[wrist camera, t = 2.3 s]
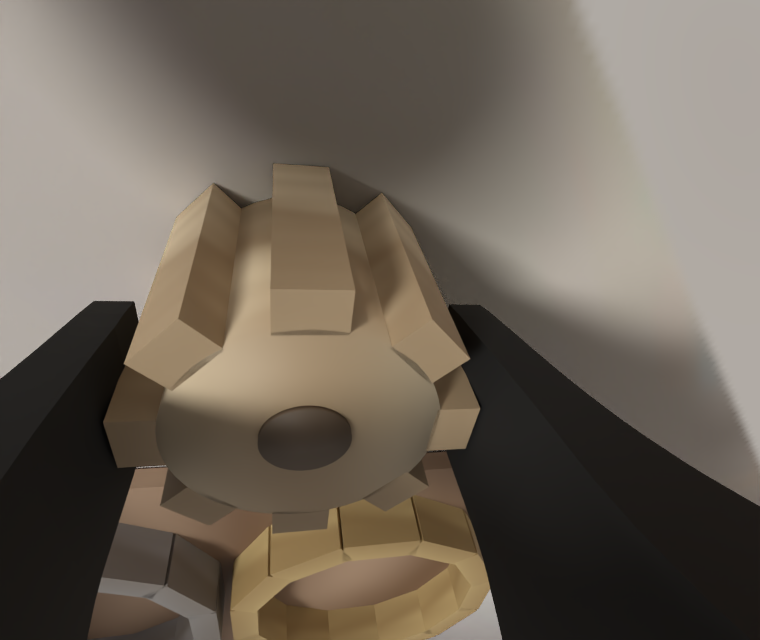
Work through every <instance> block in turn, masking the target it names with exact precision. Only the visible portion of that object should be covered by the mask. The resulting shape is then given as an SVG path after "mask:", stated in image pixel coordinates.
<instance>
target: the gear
mask: <svg viewBox="0 0 760 640" xmlns="http://www.w3.org/2000/svg"><path fill="white" fill-rule="evenodd" d="M469 359H470V357H469V355H468V353H467V350H466V348H465V346H464V344H463V341H462V339H461V337H460V335H459V333H458V330H457V328H456V326H455V324H454V321H453V319H452V317H451V315H450V313H449V310H448V308H447V306H446V304H445V302H444V299H443V297H442V295H441V293H440V290H439V288H438V286H437V284H436V282H435V279H434V277H433V275H432V273H431V270H430V268H429V266H428V264H427V262H426V259H425V257H424V255H423V253H422V251H421V248H420V246H419V244H418V242H417V239H416V237H415V235H414V233H413V231H412V228H411V227H410V226H409V224H408V223H407V222H406V221H405V220H404V218H403V217H402V216H401V215H400V214H399V213H398V211H397V210H396V209H395V208H394V207H393V205H392V204H391V203H390V202H389V201H388V200H387V198H386V197H385V196H384V195H383V194H382V193H381V194H380V195H379V196H377V197H376V198H375V199H374V200H372V201H371V202H370V203H369V204H367V205H366V206H365V207H364V208H362V209H361V210H360V211H359V212H358V213H356V214H355V213H353V212H351V211H350V210H348V209H346V208H344V207H342V206H340V205H337V202H336V198H335V193H334V189H333V184H332V179H331V175H330V170H329V167H319V166H304V165H289V164H274V163H273V194H272V198H271V199H267V200H263V201H259V202H256V203H253V204H251V205H248V206H246V207H243V208H242V209H241V208H240V207H239V206H238V205H237V204H236V203H235V202H234V201H233V200H231V199H230V198H229V197H228V196H227V195H226V194H225V193H224V192H223V191H222V190H220V189H219V188H218V187H217V186H216V185H215V184H214V183H213V184H212V185H211V186H210V187H209V188H208V189H207V190H206V191H204V192H203V193H202V194H201V195H200V196H199V197H198V198H197V199H196V200H195V201H194V202H193V203H191V204H190V205H189V206H188V207H187V208H186V209H185V210H184V211H183V212H182V213H181V214H180V215H178V216H177V217H176V220H175V223H174V226H173V228H172V231H171V234H170V237H169V240H168V242H167V245H166V248H165V251H164V253H163V256H162V259H161V262H160V265H159V267H158V270H157V273H156V276H155V278H154V281H153V284H152V287H151V290H150V292H149V295H148V298H147V301H146V304H145V306H144V309H143V312H142V315H141V317H140V320H139V323H138V326H137V329H136V331H135V334H134V337H133V340H132V342H131V345H130V348H129V351H128V354H127V356H126V359H125V362H124V364H125V368H124V370H123V372H122V374H121V376H120V378H119V380H118V382H117V385H116V388H115V391H114V393H113V396H112V399H111V402H110V405H109V407H108V410H107V413H106V416H105V418H104V421H103V424H104V427H105V430H106V433H107V436H108V439H109V443H110V446H111V449H112V452H113V455H114V458H115V461H116V464H117V467H118V468H124V467H142V466H160V465H166V466H167V467H168V470H167V474H166V479H165V484H164V489H163V494H162V499H161V503H160V506H161V507H164V508H166V509H169V510H171V511H174V512H176V513H179V514H181V515H184V516H186V517H189V518H191V519H194V520H196V521H199V522H201V523H204V524H206V525H209V526H210V525H212V524H213V523H215V522H216V521H218V520H219V519H221V518H223V517H224V516H226V515H227V514H229V513H230V512H232V511H234V510H235V509H240V510H246V511H251V512H258V513H268V514H272V534H275V533H286V532H298V531H310V530H321V529H327V526H328V517H329V509H333V508H337V507H341V506H345V505H348V504H351V503H354V502H357V501H360V500H362V499H364V500H366V501H367V502H369V503H371V504H373V505H374V506H376V507H378V508H380V509H382V510H383V511H385V512H386V511H387V510H389V509H391V508H393V507H394V506H396V505H398V504H400V503H401V502H403V501H405V500H407V499H409V498H410V497H412V496H414V495H416V494H417V493H419V492H421V491H423V490H424V489H426V488H428V487H429V485H428V481H427V478H426V474H425V470H424V467H423V463H422V458H423V457H424V456H425V454H426V453H427V452H428V451H432V450H450V449H466V446H467V443H468V441H469V438H470V435H471V433H472V430H473V427H474V424H475V422H476V419H477V416H478V414H479V411H480V406H479V404H478V402H477V399H476V397H475V395H474V392H473V390H472V387H471V385H470V383H469V380H468V378H467V376H466V374H465V372H464V370H463V368H462V367H461V365H462V364H463V363H465V362H466V361H468V360H469Z"/></svg>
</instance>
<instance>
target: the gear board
mask: <svg viewBox="0 0 760 640" xmlns="http://www.w3.org/2000/svg"><path fill="white" fill-rule="evenodd" d="M422 463H423V467H424V470H425V474H426V478H427V481H428V485H429V487H428V488H426V489H424V490H423V491H421V492H419V493H417V494H416V495H414V496H412V497H410V498H409V499H407V500H405V501H403V502H401V503H400V504H398V505H396V506H394V507H393V508H391V509H389V510H387V511H386V512H385V511H383V510H382V509H380V508H378V507H376V506H374V505H373V504H371V503H369V502H367V501H366V500H364V499H362V500H360V501H357V502H354V503H351V504H348V505H345V506H341V507H337V508H333V509H329V517H328V526H327V529H321V530H310V531H298V532H286V533H275V534H272V514H268V513H258V512H251V511H246V510H240V509H235V510H234V511H232V512H230V513H229V514H227V515H226V516H224V517H223V518H221V519H219V520H218V521H216V522H215V523H213V524H212V525H210V526H209V525H206V524H204V523H201V522H199V521H196V520H194V519H191V518H189V517H186V516H184V515H181V514H179V513H176V512H174V511H171V510H169V509H166V508H164V507H161V506H160V503H161V499H162V494H163V489H164V484H165V479H166V474H167V470H168V467H165V468H147V469H135V473H134V476H133V479H132V482H131V485H130V489H129V492H128V495H127V498H126V501H125V504H124V508H123V511H122V514H121V517H120V520H119V523H118V527H117V530H116V533H115V536H114V539H113V542H112V545H111V549H110V552H109V555H108V558H107V561H106V564H105V568H104V571H103V574H102V578H101V582H100V585H99V589H98V593H97V597H96V600H95V604H94V609H93V614H92V619H91V623H90V628H89V633H88V637H87V640H425V639H428V638H431V637H434V636H436V635H439V634H440V633H442V632H443V631H445V630H447V629H448V628H450V627H451V626H453V625H454V624H456V623H458V622H459V621H461V620H462V619H464V618H466V617H467V616H469V615H470V614H472V613H473V612H475V611H477V609H479V607H480V605H481V603H482V602H483V600H484V598H485V597H486V595H487V593H488V591H489V590H490V585H489V581H488V577H487V573H486V569H485V565H484V561H483V557H482V554H481V551H480V548H479V544H478V541H477V538H476V535H475V532H474V529H473V526H472V523H471V521H470V518H469V515H468V512H467V509H466V506H465V504H464V501H463V498H462V495H461V492H460V489H459V487H458V484H457V481H456V478H455V475H454V472H453V470H452V467H451V464H450V461H449V458H448V455H447V452H432V453H426V454H425V456H424V457H423V458H422Z"/></svg>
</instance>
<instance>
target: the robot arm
mask: <svg viewBox="0 0 760 640" xmlns="http://www.w3.org/2000/svg"><path fill="white" fill-rule="evenodd" d="M448 310H449V313H450V315H451V317H452V319H453V321H454V324H455V326H456V328H457V330H458V333H459V335H460V337H461V339H462V341H463V344H464V346H465V348H466V350H467V353H468V355H469V357H470V359H469V360H468V361H466V362H465V363H463V364H462V365H461V367H462V368H463V370H464V372H465V374H466V376H467V378H468V380H469V383H470V385H471V387H472V390H473V392H474V395H475V397H476V399H477V402H478V404H479V406H480V411H479V414H478V416H477V419H476V422H475V424H474V427H473V430H472V433H471V435H470V438H469V441H468V443H467V446H466V449H450V450H446V452H447V455H448V458H449V461H450V464H451V467H452V470H453V472H454V475H455V478H456V481H457V484H458V487H459V489H460V492H461V495H462V498H463V501H464V504H465V506H466V509H467V512H468V515H469V518H470V521H471V523H472V526H473V529H474V532H475V535H476V538H477V541H478V544H479V548H480V551H481V554H482V557H483V561H484V565H485V569H486V573H487V577H488V581H489V585H490V589H491V593H492V597H493V601H494V605H495V609H496V613H497V617H498V622H499V626H500V631H501V635H502V640H760V506H758V505H756V504H754V503H753V502H751V501H749V500H747V499H746V498H744V497H742V496H741V495H739V494H737V493H735V492H734V491H732V490H730V489H728V488H727V487H725V486H723V485H721V484H720V483H718V482H716V481H715V480H713V479H711V478H709V477H708V476H706V475H705V474H703V473H701V472H700V471H698V470H696V469H695V468H693V467H692V466H690V465H688V464H687V463H685V462H683V461H682V460H680V459H679V458H677V457H676V456H674V455H673V454H671V453H670V452H668V451H667V450H665V449H664V448H662V447H661V446H659V445H658V444H656V443H655V442H653V441H652V440H650V439H649V438H647V437H646V436H644V435H643V434H641V433H640V432H638V431H637V430H635V429H634V428H633V427H631V426H630V425H628V424H627V423H625V422H624V421H623V420H621V419H620V418H619V417H617V416H616V415H615V414H613V413H612V412H611V411H609V410H608V409H607V408H605V407H604V406H603V405H601V404H600V403H599V402H597V401H596V400H595V399H593V398H592V397H591V396H589V395H588V394H587V393H585V392H584V391H583V390H582V389H580V388H579V387H578V386H577V385H575V384H574V383H573V382H572V381H570V380H569V379H568V378H567V377H565V376H564V375H563V374H562V373H561V372H559V371H558V370H557V369H556V368H555V367H553V366H552V365H551V364H550V363H549V362H547V361H546V360H545V359H544V358H543V357H541V356H540V355H539V354H538V353H537V352H536V351H534V350H533V349H532V348H531V347H530V346H529V345H527V344H526V343H525V342H524V341H523V340H522V339H520V338H519V337H518V336H517V335H516V334H515V333H514V332H512V331H511V330H510V329H509V328H508V327H507V326H505V325H504V324H503V323H502V322H501V321H499V320H498V319H497V318H496V317H495V316H493V315H492V314H491V313H490V312H489V311H487V310H486V309H485V308H483V307H482V306H481V305H449V308H448ZM138 323H139V322H138V317H137V312H136V308H135V303H134V302H133V301H93V302H92V303H91V304H90V305H88V306H87V307H86V308H85V309H83V310H82V311H81V312H80V313H79V314H77V315H76V316H75V317H74V318H73V319H72V320H70V321H69V322H68V323H67V324H66V325H65V326H63V327H62V328H61V329H60V330H59V331H57V332H56V333H55V334H54V335H53V336H52V337H50V338H49V339H48V340H47V341H46V342H45V343H43V344H42V345H41V346H40V347H39V348H38V349H36V350H35V351H34V352H33V353H31V354H30V355H29V356H28V357H27V358H25V359H24V360H23V361H22V362H21V363H19V364H18V365H17V366H16V367H14V368H13V369H12V370H11V371H10V372H8V373H7V374H6V375H5V376H4V377H2V378H1V379H0V640H87V637H88V633H89V628H90V623H91V619H92V614H93V609H94V604H95V600H96V597H97V593H98V589H99V585H100V582H101V578H102V574H103V571H104V568H105V564H106V561H107V558H108V555H109V552H110V549H111V545H112V542H113V539H114V536H115V533H116V530H117V527H118V523H119V520H120V517H121V514H122V511H123V508H124V504H125V501H126V498H127V495H128V492H129V489H130V485H131V482H132V479H133V476H134V473H135V469H136V467H124V468H118V467H117V464H116V461H115V458H114V455H113V452H112V449H111V446H110V443H109V439H108V436H107V433H106V430H105V427H104V424H103V421H104V418H105V416H106V413H107V410H108V407H109V405H110V402H111V399H112V396H113V393H114V391H115V388H116V385H117V382H118V380H119V378H120V376H121V374H122V372H123V370H124V368H125V364H124V362H125V359H126V356H127V354H128V351H129V348H130V345H131V342H132V340H133V337H134V334H135V331H136V329H137V326H138Z"/></svg>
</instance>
